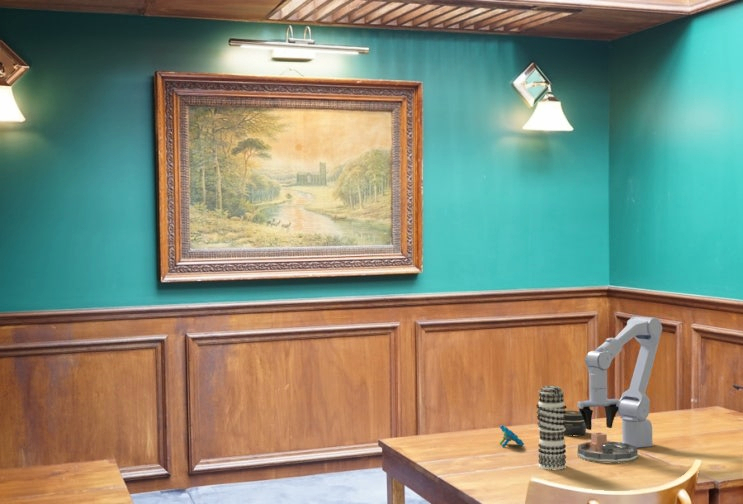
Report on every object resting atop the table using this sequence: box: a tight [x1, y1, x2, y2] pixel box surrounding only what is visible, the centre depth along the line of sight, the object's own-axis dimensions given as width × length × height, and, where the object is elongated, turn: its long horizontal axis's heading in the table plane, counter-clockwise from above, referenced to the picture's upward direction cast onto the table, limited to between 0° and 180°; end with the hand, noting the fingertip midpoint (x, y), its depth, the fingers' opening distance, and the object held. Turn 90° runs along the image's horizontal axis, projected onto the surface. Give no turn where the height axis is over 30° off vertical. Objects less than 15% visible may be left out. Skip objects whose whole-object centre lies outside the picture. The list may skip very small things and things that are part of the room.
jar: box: [563, 410, 587, 437], centre depth 340 cm, size 10×10×8 cm
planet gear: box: [590, 432, 608, 451], centre depth 311 cm, size 5×5×5 cm
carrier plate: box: [577, 440, 639, 464], centre depth 306 cm, size 19×19×5 cm
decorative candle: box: [535, 385, 567, 471], centre depth 293 cm, size 9×9×25 cm
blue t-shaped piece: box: [499, 424, 525, 448], centre depth 322 cm, size 11×6×10 cm
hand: (599, 428), depth 311 cm, fingers open, 7 cm apart
